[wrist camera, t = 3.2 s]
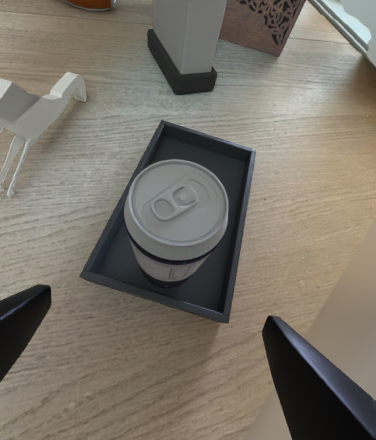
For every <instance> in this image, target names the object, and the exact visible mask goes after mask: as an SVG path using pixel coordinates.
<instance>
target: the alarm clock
mask: <svg viewBox="0 0 376 440" xmlns="http://www.w3.org/2000/svg"><path fill="white" fill-rule="evenodd" d="M63 1H64V2H66V3H68V4H70V5H72V6H75V7H77V8H81V9H85V10H90V11H105V10H110V9H113V8H114V5H115V0H63Z"/></svg>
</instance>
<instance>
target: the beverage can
mask: <svg viewBox="0 0 376 440" xmlns="http://www.w3.org/2000/svg"><path fill="white" fill-rule="evenodd" d="M123 220H124V225H125V228H126V231H127V234H128V236H129V239H130V242H131V245H132V247H133V250H134V253H135V256H136V258H137V261H138V264H139V266H140V269H141V272H142V274H143V275H144V277H145V278H146V279H147V280H148V281H149V282H151V283H152V284H154V285H156V286H158V287H162V288H173V287H177V286H180V285H182V284H183V283H185V282H186V281H187V280H188V279H189V278H190V277H191V276H192V275H193V274H194V273H195V271H196V270H197V269H198V268H199V267H200V266H201V265H202V263H203V262H204V261H205V260H206V259H207V258H208V257H209V255H210V254H211V253H212V252H213V251H214V250H215V248H216V247H217V246H218V245H219V244H220V242H221V241H222V239H223V237H224V235H225V233H226V230H227V226H228V197H227V194H226V191H225V189H224V187H223V185H222V183H221V182H220V181H219V179H218V178H217V177H216V176H215V175H214V174H213V173H212V172H210V171H209V170H208V169H206V168H204V167H203V166H201V165H198V164H196V163H193V162H190V161H185V160H165V161H160V162H157V163H154V164H152V165H150V166H148V167H147V168H145V169H144V170H142V171H141V172H140V173H139V174H138V175H137V176H136V178H135V179H134V180H133V182H132V184H131V186H130V189H129V193H128V195H127V197H126V200H125V203H124V207H123Z"/></svg>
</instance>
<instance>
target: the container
mask: <svg viewBox="0 0 376 440" xmlns="http://www.w3.org/2000/svg"><path fill="white" fill-rule="evenodd" d="M226 2H227V0H153V29H149V30H148V32H147V37H148V47H149V50H150V51H151V53H152V55H153V56H154V58H155V60H156V62H157V63H158V65H159V67H160V69H161V70H162V72H163V74H164V75H165V77H166V79H167V81H168V82H169V84H170V86H171V88H172V89H173V91H174V93H176V94H186V93H194V92H203V91H211V90H213V88H214V86H215V82H216V78H217V72H216V71H215V69H214V68H213V67H212V65H213V61H214V56H215V52H216V47H217V43H218V38H219V34H220V29H221V24H222V20H223V15H224V11H225V6H226Z"/></svg>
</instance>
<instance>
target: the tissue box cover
mask: <svg viewBox="0 0 376 440" xmlns="http://www.w3.org/2000/svg"><path fill="white" fill-rule="evenodd" d="M305 1H306V0H227V2H226V6H225V11H224V15H223V20H222V24H221V29H220V34H219V39H223V40H226V41H229V42H233V43H236V44H239V45H243V46H246V47H249V48H252V49H256V50H259V51H262V52H266V53H269V54H272V55H276V56H280V54H281V52H282V50H283V48H284V46H285V44H286V41H287V39H288V37H289V35H290V33H291V31H292V29H293V27H294V24H295V22H296V20H297V18H298V16H299V14H300V12H301V10H302V7H303V5H304V3H305Z"/></svg>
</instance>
